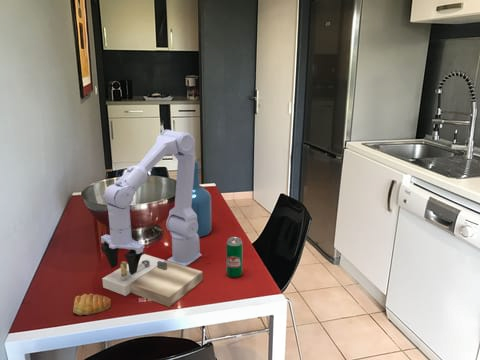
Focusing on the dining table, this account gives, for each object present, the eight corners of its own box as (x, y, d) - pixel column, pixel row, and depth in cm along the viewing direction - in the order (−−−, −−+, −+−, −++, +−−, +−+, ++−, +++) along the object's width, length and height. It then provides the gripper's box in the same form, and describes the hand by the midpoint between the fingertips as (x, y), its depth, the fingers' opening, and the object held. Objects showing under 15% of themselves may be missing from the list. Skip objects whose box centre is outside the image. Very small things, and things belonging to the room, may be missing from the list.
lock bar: (145, 263, 125) (144, 248, 124) (151, 264, 124) (150, 249, 123) (119, 278, 116) (117, 263, 114) (125, 281, 115) (123, 265, 113)
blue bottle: (208, 240, 150) (207, 163, 141) (174, 238, 151) (171, 161, 142) (214, 225, 163) (213, 154, 154) (183, 224, 164) (180, 153, 156)
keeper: (159, 266, 123) (159, 260, 123) (167, 269, 122) (166, 263, 121) (157, 268, 123) (157, 262, 122) (165, 270, 121) (164, 264, 121)
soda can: (225, 277, 123) (224, 242, 120) (227, 269, 128) (227, 235, 125) (241, 279, 122) (241, 243, 119) (243, 271, 127) (243, 236, 124)
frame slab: (144, 262, 132) (144, 254, 132) (166, 268, 128) (165, 260, 127) (103, 287, 117) (102, 278, 116) (125, 295, 113) (124, 286, 112)
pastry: (112, 299, 112) (111, 287, 111) (109, 314, 105) (108, 301, 104) (77, 303, 110) (75, 291, 109) (72, 318, 104) (70, 305, 102)
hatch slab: (166, 269, 128) (166, 260, 127) (202, 280, 122) (202, 271, 121) (131, 292, 115) (130, 283, 114) (169, 306, 108) (168, 297, 107)
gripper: (90, 226, 111) (95, 269, 115) (129, 237, 105) (132, 282, 109) (110, 218, 117) (113, 259, 121) (147, 228, 111) (149, 271, 114)
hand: (123, 269), depth 115 cm, fingers open, 7 cm apart
